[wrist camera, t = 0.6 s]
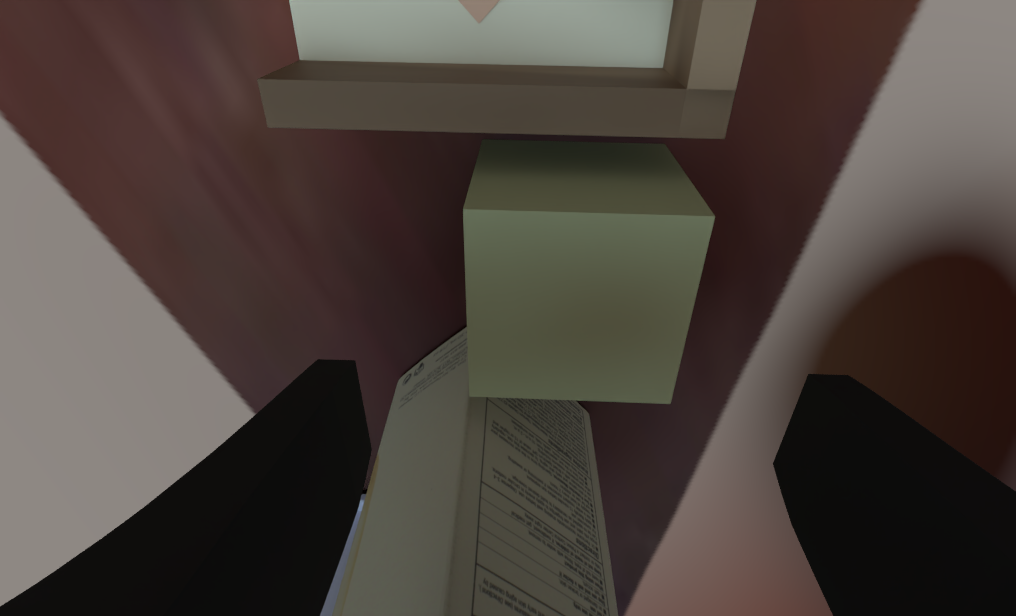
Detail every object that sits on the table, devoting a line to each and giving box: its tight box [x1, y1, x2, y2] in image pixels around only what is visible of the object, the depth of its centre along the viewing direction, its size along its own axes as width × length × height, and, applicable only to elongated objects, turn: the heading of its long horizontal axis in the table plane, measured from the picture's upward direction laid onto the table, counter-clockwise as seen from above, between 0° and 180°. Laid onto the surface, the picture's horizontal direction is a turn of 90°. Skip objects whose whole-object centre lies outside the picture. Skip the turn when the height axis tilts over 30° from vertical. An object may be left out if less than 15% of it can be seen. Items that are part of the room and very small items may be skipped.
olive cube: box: [463, 139, 715, 404], centre depth 14 cm, size 5×5×5 cm
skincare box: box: [332, 327, 618, 616], centre depth 15 cm, size 6×4×12 cm
